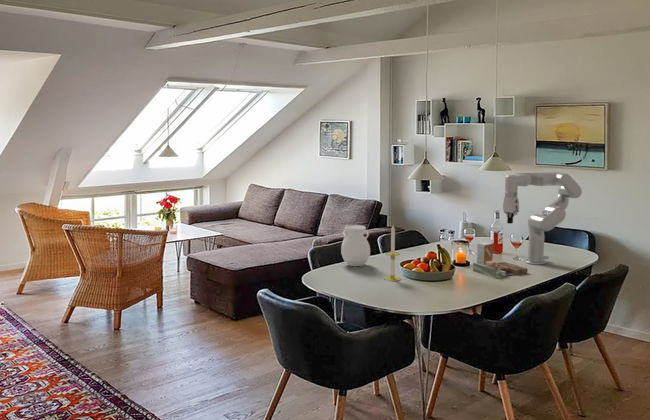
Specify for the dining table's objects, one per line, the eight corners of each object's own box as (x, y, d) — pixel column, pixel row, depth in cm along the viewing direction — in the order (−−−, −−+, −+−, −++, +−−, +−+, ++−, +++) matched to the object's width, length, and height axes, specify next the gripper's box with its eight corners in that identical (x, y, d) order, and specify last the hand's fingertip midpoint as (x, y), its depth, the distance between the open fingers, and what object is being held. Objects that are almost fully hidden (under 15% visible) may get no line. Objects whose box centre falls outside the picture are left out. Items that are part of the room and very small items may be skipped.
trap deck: (504, 266, 405) (504, 258, 405) (527, 273, 388) (527, 265, 387) (472, 270, 394) (473, 262, 394) (494, 278, 377) (495, 269, 376)
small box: (483, 264, 410) (484, 244, 408) (476, 263, 415) (477, 243, 413) (492, 263, 414) (493, 243, 412) (485, 261, 420) (485, 241, 418)
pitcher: (336, 267, 405) (336, 228, 402) (346, 261, 422) (346, 223, 419) (364, 269, 398) (364, 230, 395) (373, 263, 415) (374, 225, 412)
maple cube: (491, 267, 391) (492, 260, 391) (497, 268, 387) (497, 262, 386) (485, 268, 389) (485, 261, 388) (490, 269, 385) (491, 263, 384)
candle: (396, 282, 369) (397, 226, 364) (380, 279, 374) (381, 224, 369) (403, 278, 377) (404, 223, 372) (388, 276, 382) (389, 222, 378)
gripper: (524, 195, 398) (523, 224, 400) (507, 192, 411) (506, 221, 414) (514, 196, 394) (513, 225, 397) (498, 193, 408) (497, 221, 410)
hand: (510, 223), depth 405 cm, fingers closed
